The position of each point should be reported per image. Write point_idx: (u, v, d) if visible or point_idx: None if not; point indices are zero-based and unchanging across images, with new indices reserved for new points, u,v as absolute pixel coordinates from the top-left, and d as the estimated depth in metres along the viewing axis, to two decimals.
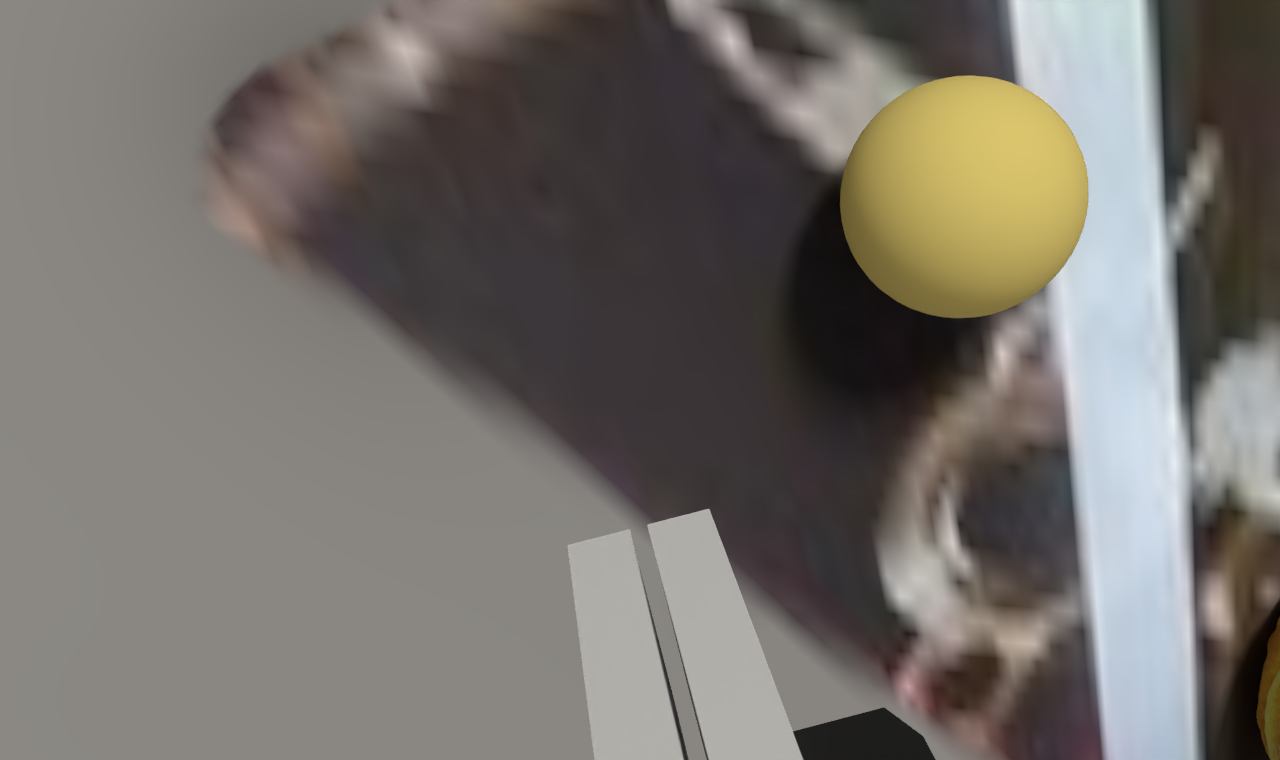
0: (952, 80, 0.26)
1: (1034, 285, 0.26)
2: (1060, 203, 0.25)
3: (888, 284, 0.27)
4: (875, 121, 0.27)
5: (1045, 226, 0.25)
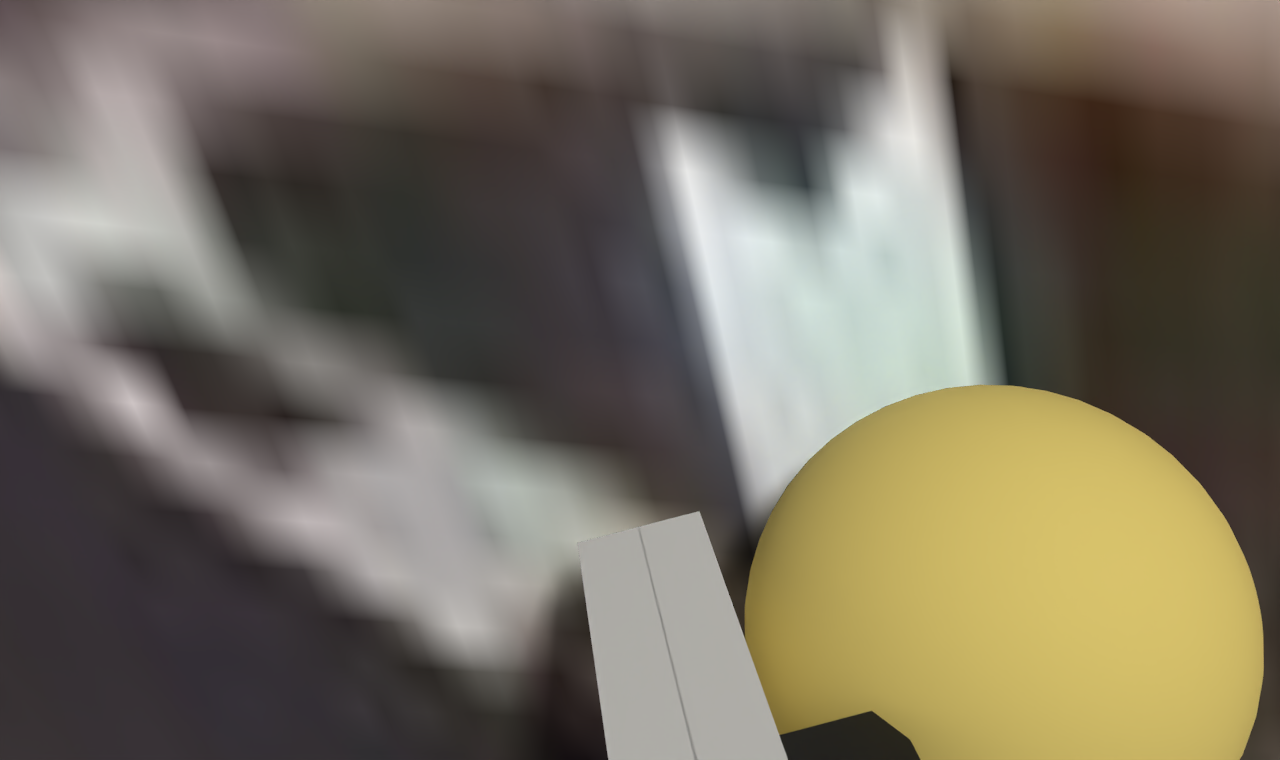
0: (970, 407, 0.12)
1: None
2: None
3: None
4: (965, 545, 0.11)
5: None
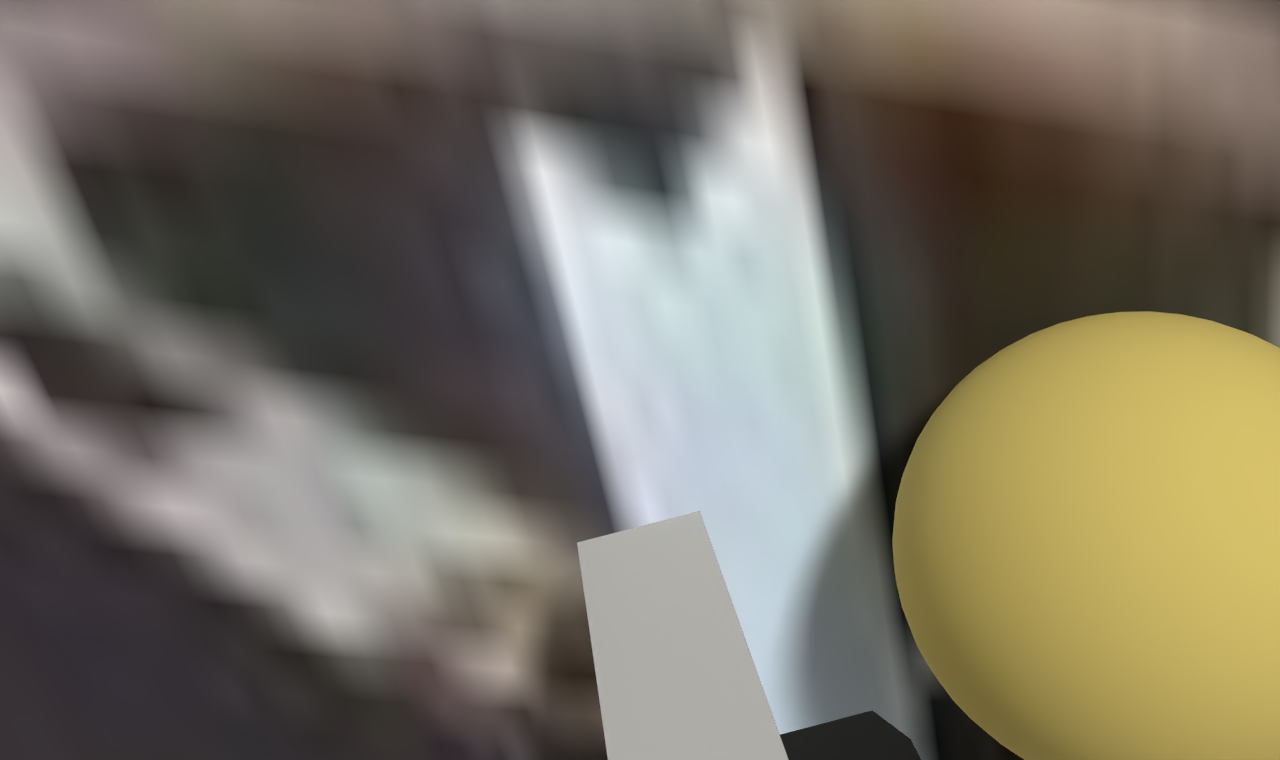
0: (1113, 327, 0.13)
1: None
2: None
3: None
4: None
5: None
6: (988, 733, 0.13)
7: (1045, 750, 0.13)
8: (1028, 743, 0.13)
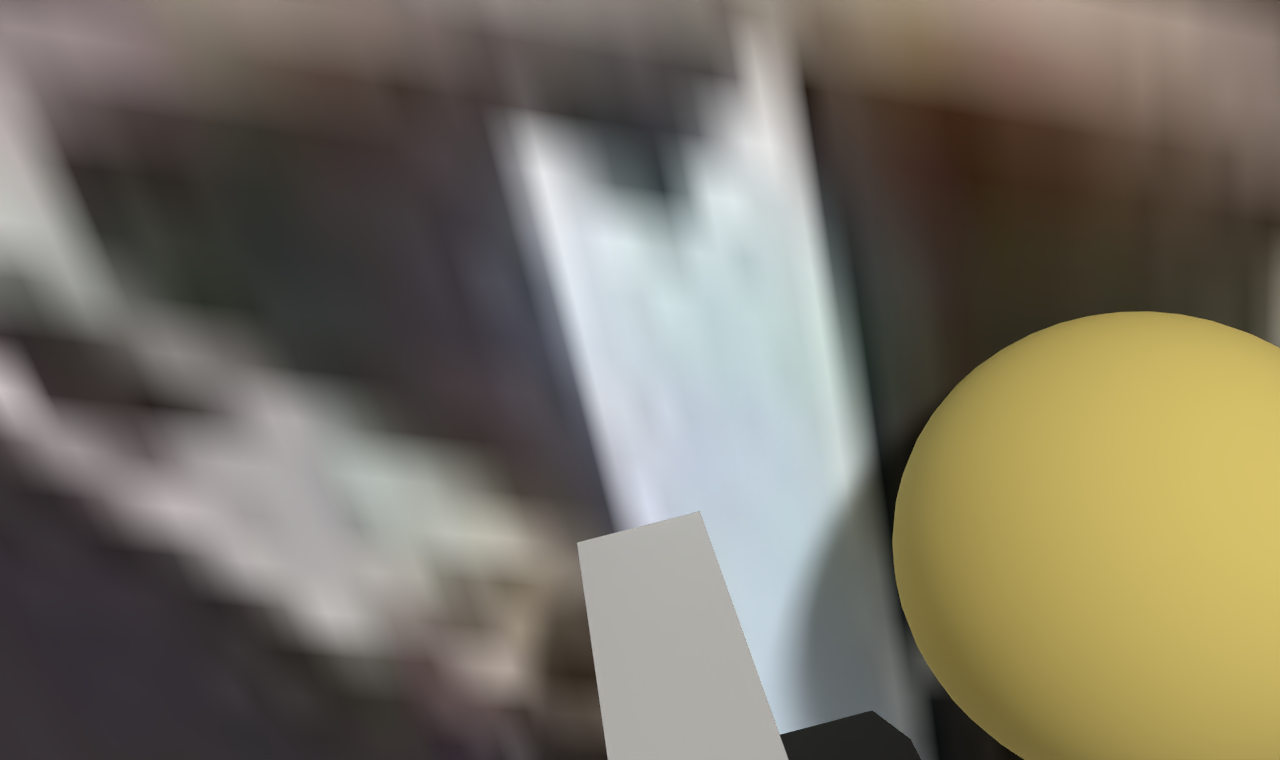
0: (1113, 327, 0.13)
1: None
2: None
3: None
4: None
5: None
6: (988, 733, 0.13)
7: (1045, 750, 0.13)
8: (1028, 743, 0.13)
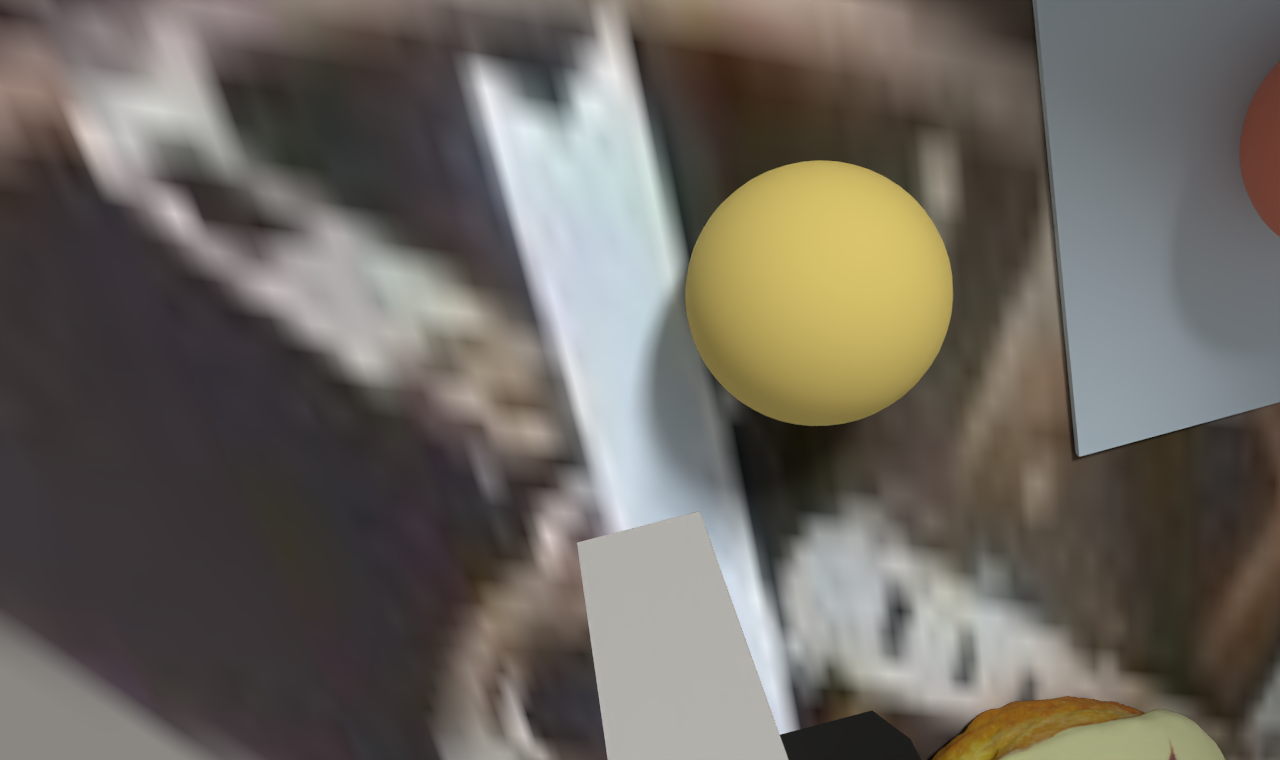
0: (793, 165, 0.24)
1: None
2: None
3: None
4: (881, 186, 0.23)
5: None
6: (733, 393, 0.24)
7: (755, 389, 0.23)
8: (747, 386, 0.23)
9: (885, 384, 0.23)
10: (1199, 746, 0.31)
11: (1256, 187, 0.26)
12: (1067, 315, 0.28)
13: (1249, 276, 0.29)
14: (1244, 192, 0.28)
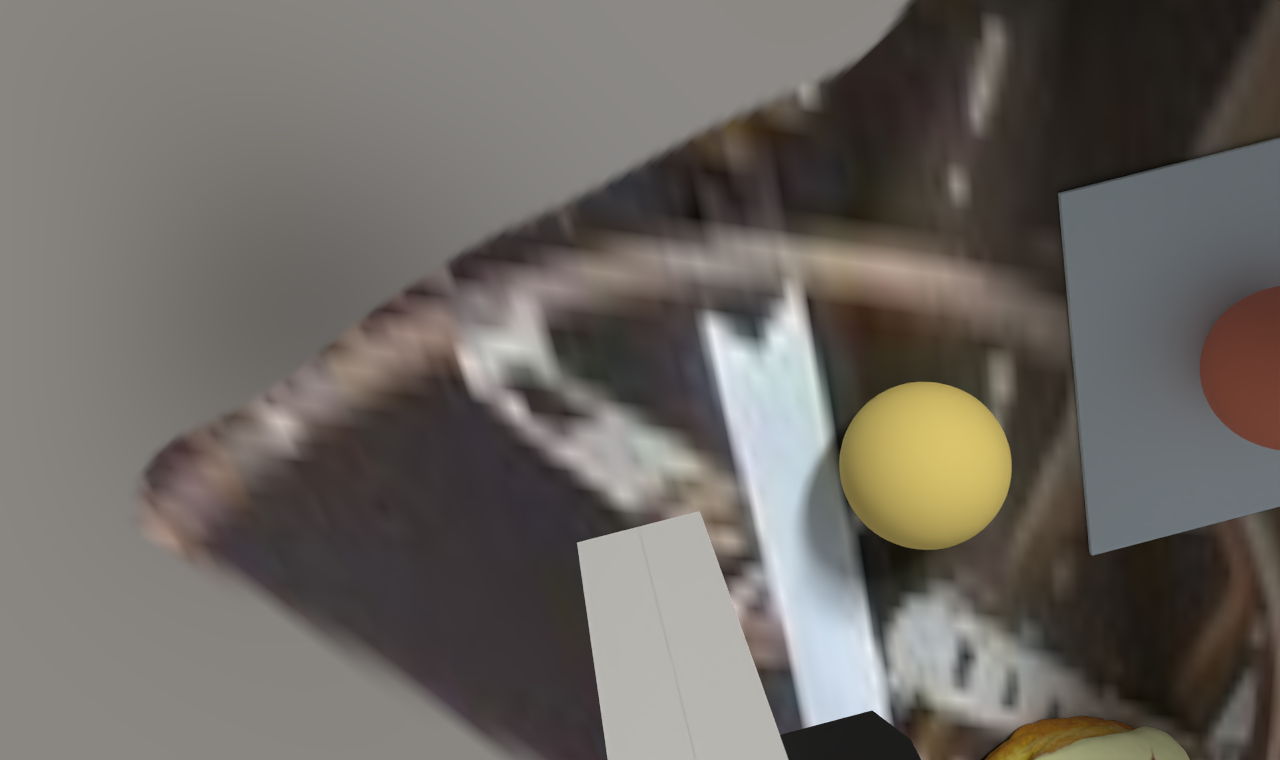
0: (912, 388, 0.38)
1: None
2: None
3: None
4: (968, 406, 0.37)
5: None
6: (871, 529, 0.38)
7: (887, 530, 0.38)
8: (882, 527, 0.38)
9: (969, 529, 0.37)
10: (1172, 752, 0.45)
11: (1208, 395, 0.40)
12: (1084, 464, 0.43)
13: (1208, 438, 0.43)
14: None
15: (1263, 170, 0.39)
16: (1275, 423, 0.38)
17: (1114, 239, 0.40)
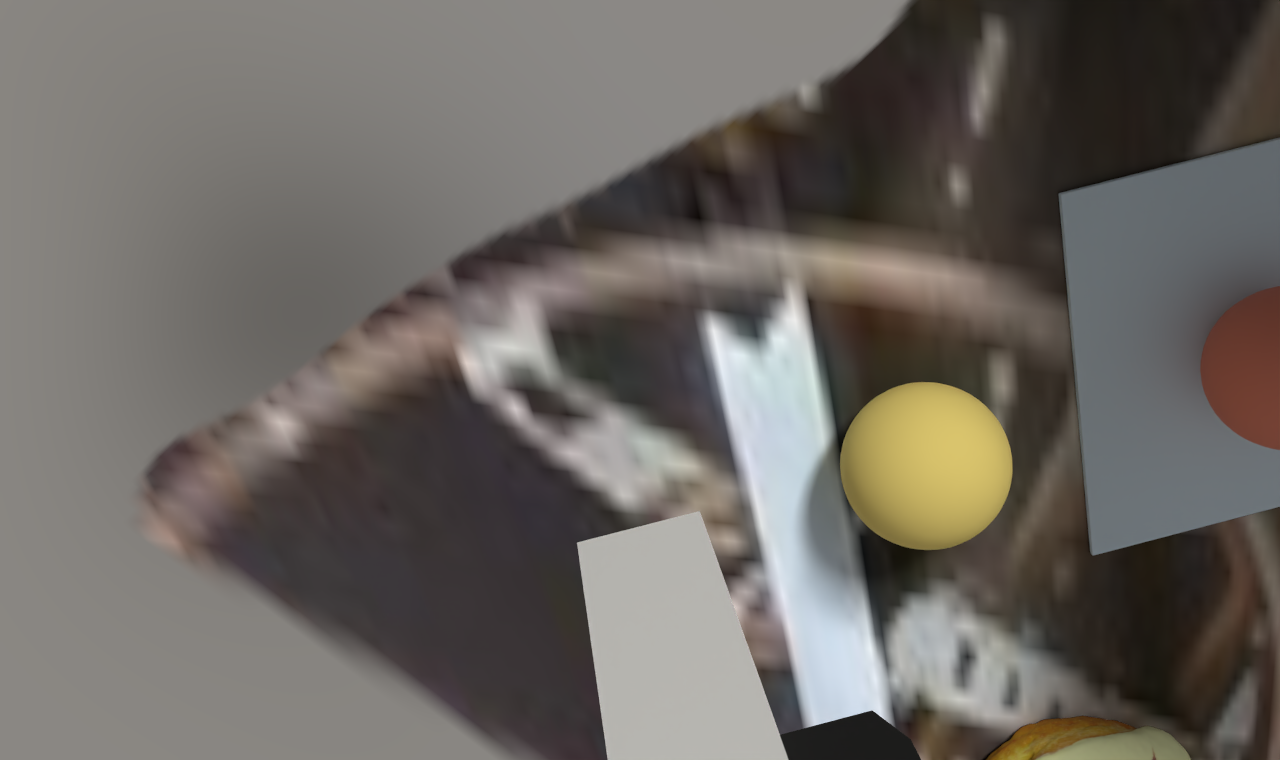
0: (912, 389, 0.38)
1: None
2: None
3: None
4: (969, 406, 0.37)
5: None
6: (872, 529, 0.38)
7: (888, 530, 0.38)
8: (883, 528, 0.38)
9: (970, 530, 0.37)
10: (1173, 752, 0.45)
11: (1209, 394, 0.40)
12: (1085, 464, 0.43)
13: (1209, 438, 0.43)
14: None
15: (1264, 170, 0.39)
16: (1276, 423, 0.38)
17: (1114, 239, 0.40)
